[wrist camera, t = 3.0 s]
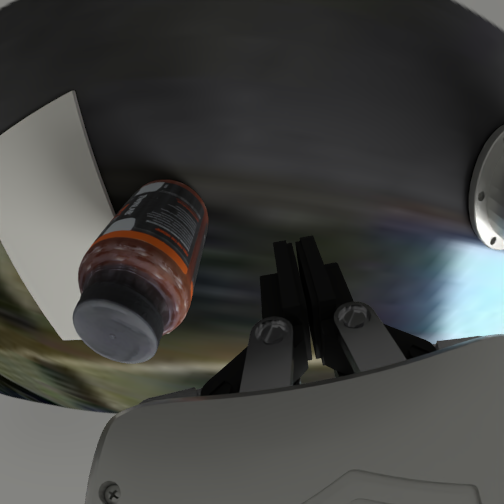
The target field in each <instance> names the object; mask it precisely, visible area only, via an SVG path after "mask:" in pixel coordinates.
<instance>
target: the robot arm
mask: <svg viewBox="0 0 504 504" xmlns="http://www.w3.org/2000/svg"><path fill="white" fill-rule="evenodd" d="M469 215H470V221H471V224H472V228H473V230H474V232H475V234H476V235H477V237H478V238H479V239H480V240H481V241H482V242H483V243H484V244H485V245H486V246H487V247H489V248H491V249H494V250H504V125H502V126H500V127H499V128H498V129H497V130H496V131H495V132H494V133H493V134H492V135H491V136H490V137H489V139H488V140H487V142H486V143H485V145H484V147H483V149H482V150H481V152H480V154H479V156H478V159H477V162H476V165H475V167H474V171H473V175H472V179H471V183H470V191H469ZM295 243H296V251H297V258H298V265H299V271H298V267H297V263H296V259H295V255H294V251H293V247H292V243H288V244H287V243H286V240H285V241H279V242H274V243H273V246H274V252H275V259H276V266H277V273H275V274H270V275H264V276H260V286H261V302H262V318H263V319H262V320H260V321H259V322H257V323H256V324H255V325H254V326H253V327H252V330H251V332H250V337H249V343H248V347H246V348H245V349H244V350H243V351H242V352H241V353H240V354H239V355H237V356H236V357H235V358H234V359H233V360H232V361H231V362H230V363H228V364H227V365H226V366H225V367H224V368H223V369H222V370H220V371H219V372H218V373H217V374H216V375H215V376H214V377H212V378H211V379H210V380H209V381H208V382H207V383H206V384H205V385H204V386H203V388H201V389H197V390H196V388H195V387H194V388H190V389H186V390H182V391H178V392H174V393H170V394H165V395H161V396H157V397H152V398H148V399H146V400H143V401H142V402H141V403H140V404H139V405H136V406H133V407H130V408H128V409H125V410H123V411H121V412H120V413H118V414H116V415H115V416H114V417H112V418H111V419H110V420H109V422H108V423H107V424H106V426H105V428H104V430H103V432H102V434H101V436H100V439H99V442H98V444H97V448H96V451H95V454H94V458H93V462H92V466H91V470H90V475H89V480H88V486H87V492H86V499H85V504H504V334H495V335H488V336H475V337H468V338H461V339H452V340H443V341H437V343H436V344H433V345H432V344H431V343H430V342H428V341H426V340H424V339H421V338H419V337H416V336H414V335H411V334H408V333H406V332H403V331H401V330H398V329H395V328H393V327H390V326H388V325H385V324H383V323H382V322H381V320H380V319H379V317H378V316H377V314H376V313H375V311H374V310H373V309H372V308H371V307H370V306H369V305H367V304H365V303H362V302H354V301H353V299H352V296H351V294H350V292H349V289H348V287H347V284H346V282H345V280H344V277H343V275H342V273H341V270H340V268H339V266H338V264H337V263H330V264H325V265H324V264H323V261H322V258H321V256H320V253H319V250H318V248H317V245H316V242H315V240H314V237H313V236H307V237H302V238H300V241H299V242H295ZM299 272H300V275H299ZM308 322H309V323H308ZM309 327H310V332H311V336H312V341H313V346H314V351H315V355H316V359H318V358H321V359H322V363H323V365H326V366H328V367H330V368H332V369H334V373H335V377H336V378H332V379H327V380H322V381H317V382H311V383H306V384H301V379H300V377H301V376H302V375H303V374H304V372H305V371H306V370H307V369H308V360H312V353H311V343H310V333H309Z"/></svg>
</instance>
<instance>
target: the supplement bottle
mask: <svg viewBox="0 0 504 504" xmlns="http://www.w3.org/2000/svg"><path fill="white" fill-rule="evenodd" d="M207 231H208V213H207V210H206V207H205V204H204V202H203V201H202V199H201V198H200V196H199V195H198V194H197V193H196V192H195V191H194V190H193V189H191V188H190V187H189V186H187V185H185V184H183V183H181V182H178V181H175V180H168V179H167V180H156V181H152V182H150V183H147V184H145V185H144V186H142V187H141V188H140V189H139V190H138V191H136V192H135V193H134V194H133V195H132V196H131V198H130V199H129V200H128V201H127V202H126V203H125V204H124V206H123V207H122V208H121V209H120V210H119V212H118V213H117V214H116V215H115V217H114V218H113V219H112V220H111V221H110V223H109V224H108V225H107V226H106V227H105V229H104V230H103V231H102V232H101V234H100V235H99V236H98V237H97V239H96V240H95V241H94V243H93V244H92V245H91V247H90V248H89V250H88V251H87V252H86V254H85V255H84V257H83V259H82V261H81V264H80V267H79V271H78V283H79V289H80V293H81V296H80V300H79V301H78V303H77V305H76V307H75V309H74V312H73V324H74V328H75V330H76V332H77V334H78V335H79V337H80V338H81V339H82V340H83V341H84V343H85V344H86V345H87V346H89V347H90V348H91V349H92V350H94V351H95V352H96V353H98V354H100V355H102V356H104V357H106V358H109V359H111V360H114V361H118V362H122V363H140V362H144V361H146V360H149V359H150V358H151V357H153V356H154V354H155V353H156V351H157V348H158V345H159V341H160V338H161V337H162V335H164V334H166V333H169V332H171V331H172V330H174V329H175V328H176V327H177V326H178V325H179V324H180V323H181V322H182V321H183V319H184V318H185V316H186V314H187V311H188V309H189V306H190V303H191V299H192V294H193V290H194V286H195V281H196V277H197V273H198V269H199V264H200V260H201V256H202V252H203V247H204V243H205V239H206V235H207Z"/></svg>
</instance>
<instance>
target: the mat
mask: <svg viewBox="0 0 504 504" xmlns="http://www.w3.org/2000/svg"><path fill="white" fill-rule="evenodd" d="M115 215H116V214H115V212H114V209H113V207H112V204H111V201H110V199H109V196H108V194H107V191H106V188H105V186H104V183H103V180H102V177H101V175H100V172H99V169H98V166H97V163H96V160H95V157H94V154H93V151H92V148H91V145H90V142H89V139H88V136H87V132H86V129H85V126H84V122H83V119H82V115H81V112H80V108H79V105H78V101H77V97H76V93H75V90H74V91H70V92H69V93H67V94H65V95H63V96H61V97H59V98H58V99H56V100H54V101H52V102H51V103H49V104H47V105H45V106H44V107H42V108H40V109H39V110H37V111H36V112H34V113H32V114H31V115H29V116H28V117H26V118H25V119H23V120H22V121H20V122H19V123H17V124H16V125H14V126H13V127H11V128H10V129H8V130H7V131H6V132H4V133H3V134H2V135H0V240H1V242H2V244H3V246H4V248H5V250H6V252H7V254H8V256H9V257H10V259H11V261H12V263H13V265H14V267H15V268H16V270H17V272H18V274H19V275H20V277H21V279H22V280H23V282H24V284H25V285H26V287H27V289H28V290H29V292H30V294H31V295H32V297H33V298H34V300H35V301H36V303H37V304H38V306H39V307H40V309H41V310H42V312H43V313H44V315H45V316H46V318H47V319H48V321H49V322H50V323H51V325H52V326H53V328H54V329H55V330H56V332H57V333H58V334H59V336H60V337H61V338H62V340H82V339H81V338H80V337H79V335H78V334H77V332H76V330H75V328H74V324H73V312H74V309H75V307H76V305H77V303H78V301H79V300H80V296H81V293H80V289H79V283H78V271H79V267H80V264H81V261H82V259H83V257H84V255H85V254H86V252H87V251H88V250H89V248H90V247H91V245H92V244H93V243H94V241H95V240H96V239H97V237H98V236H99V235H100V234H101V232H102V231H103V230H104V229H105V227H106V226H107V225H108V224H109V223H110V221H111V220H112V219H113V218H114V217H115ZM169 333H170V332H169ZM166 334H167V333H166Z"/></svg>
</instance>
